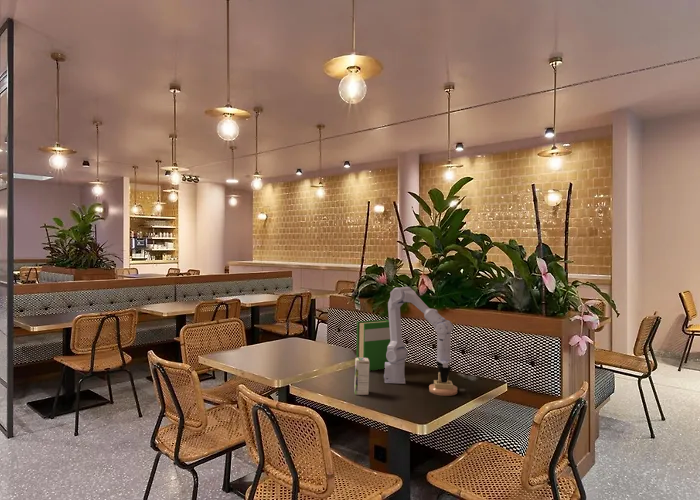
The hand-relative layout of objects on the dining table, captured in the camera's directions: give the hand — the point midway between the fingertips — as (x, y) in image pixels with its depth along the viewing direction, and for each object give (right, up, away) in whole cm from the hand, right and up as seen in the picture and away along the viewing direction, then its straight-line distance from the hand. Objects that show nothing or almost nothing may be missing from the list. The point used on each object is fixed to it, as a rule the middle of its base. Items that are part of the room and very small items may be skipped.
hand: (443, 380), depth 206 cm
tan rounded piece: (0, -5, 0) cm, 5 cm away
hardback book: (-28, -5, +40) cm, 49 cm away
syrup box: (-36, -5, -4) cm, 36 cm away
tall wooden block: (0, -3, 0) cm, 3 cm away
